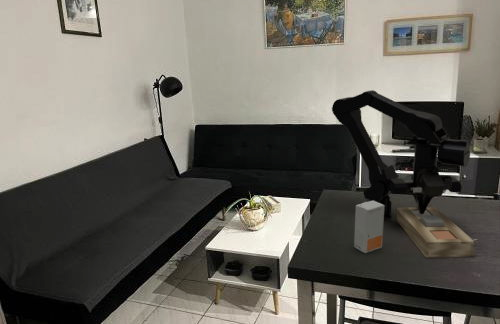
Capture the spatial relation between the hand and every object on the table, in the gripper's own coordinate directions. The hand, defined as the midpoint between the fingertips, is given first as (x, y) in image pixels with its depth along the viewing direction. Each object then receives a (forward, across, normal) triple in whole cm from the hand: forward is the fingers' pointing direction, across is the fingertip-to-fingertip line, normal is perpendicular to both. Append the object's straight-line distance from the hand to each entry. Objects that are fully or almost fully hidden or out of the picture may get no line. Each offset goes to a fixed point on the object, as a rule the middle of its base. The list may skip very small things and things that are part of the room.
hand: (421, 213), depth 108 cm
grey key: (+1, 0, -7) cm, 7 cm away
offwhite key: (+2, 0, 0) cm, 2 cm away
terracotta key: (+2, 0, -14) cm, 14 cm away
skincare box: (+4, -18, -12) cm, 22 cm away
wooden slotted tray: (+4, 0, -7) cm, 8 cm away
